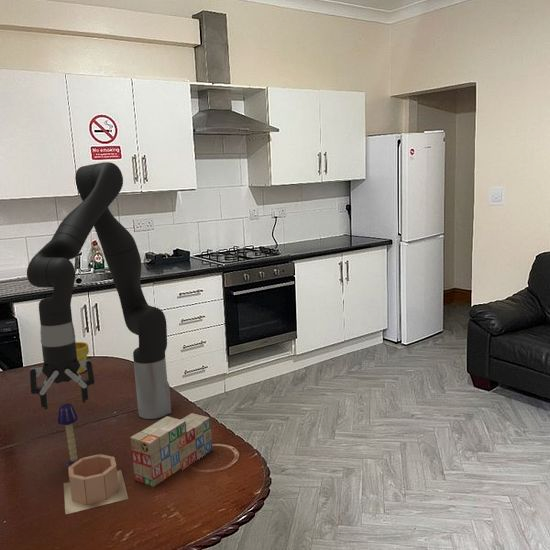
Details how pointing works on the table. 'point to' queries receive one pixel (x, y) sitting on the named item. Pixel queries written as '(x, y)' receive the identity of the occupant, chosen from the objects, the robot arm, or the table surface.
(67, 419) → the toy lamp
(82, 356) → the plant pot
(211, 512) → the table surface
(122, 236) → the robot arm
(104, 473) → the beige octagonal hollow piece
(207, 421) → the stack of blocks
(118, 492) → the birch board
